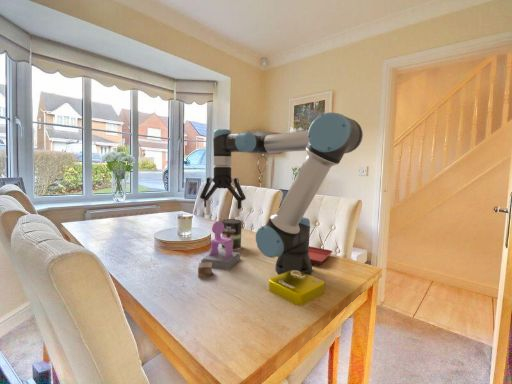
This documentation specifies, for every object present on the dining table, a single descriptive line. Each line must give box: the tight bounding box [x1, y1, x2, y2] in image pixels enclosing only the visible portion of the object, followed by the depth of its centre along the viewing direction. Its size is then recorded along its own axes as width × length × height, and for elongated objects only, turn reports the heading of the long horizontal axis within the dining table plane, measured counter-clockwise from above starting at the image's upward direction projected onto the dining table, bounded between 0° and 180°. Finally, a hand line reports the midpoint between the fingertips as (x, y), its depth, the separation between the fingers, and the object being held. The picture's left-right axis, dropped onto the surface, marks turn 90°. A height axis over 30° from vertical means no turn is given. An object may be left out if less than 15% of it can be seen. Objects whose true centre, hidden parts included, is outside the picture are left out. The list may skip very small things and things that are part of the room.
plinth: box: [200, 249, 241, 270], centre depth 119 cm, size 13×13×3 cm
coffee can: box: [221, 218, 243, 251], centre depth 139 cm, size 10×10×14 cm
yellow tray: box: [268, 270, 326, 307], centre depth 94 cm, size 15×15×5 cm
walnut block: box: [197, 262, 213, 278], centre depth 106 cm, size 5×5×4 cm
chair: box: [208, 220, 233, 259], centre depth 118 cm, size 8×9×15 cm
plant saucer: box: [309, 245, 333, 267], centre depth 128 cm, size 18×18×3 cm
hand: (222, 215), depth 117 cm, fingers open, 13 cm apart
